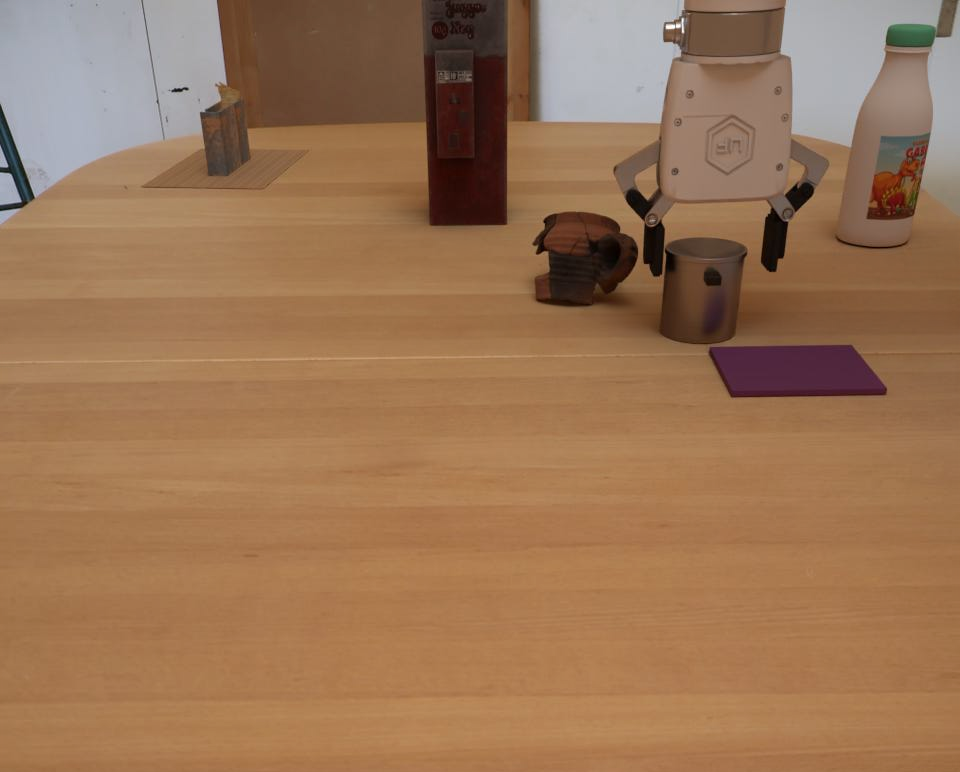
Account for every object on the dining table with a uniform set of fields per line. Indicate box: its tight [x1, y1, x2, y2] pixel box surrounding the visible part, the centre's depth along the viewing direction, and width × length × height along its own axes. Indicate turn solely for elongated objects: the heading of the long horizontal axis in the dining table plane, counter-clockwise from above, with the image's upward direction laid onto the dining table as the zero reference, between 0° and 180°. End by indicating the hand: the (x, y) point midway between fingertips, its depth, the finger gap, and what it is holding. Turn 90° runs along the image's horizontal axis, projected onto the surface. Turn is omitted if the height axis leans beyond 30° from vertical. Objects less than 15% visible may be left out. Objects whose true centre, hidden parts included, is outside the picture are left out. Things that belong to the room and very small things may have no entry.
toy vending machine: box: [421, 0, 509, 226], centre depth 124 cm, size 9×11×28 cm
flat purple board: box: [708, 344, 888, 398], centre depth 91 cm, size 12×10×1 cm
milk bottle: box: [836, 23, 937, 248], centre depth 117 cm, size 8×8×20 cm
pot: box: [659, 236, 748, 344], centre depth 97 cm, size 7×10×7 cm
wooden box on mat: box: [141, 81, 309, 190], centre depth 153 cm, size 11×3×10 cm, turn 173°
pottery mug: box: [531, 211, 639, 306], centre depth 107 cm, size 12×10×8 cm
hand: (711, 270), depth 96 cm, fingers open, 9 cm apart
